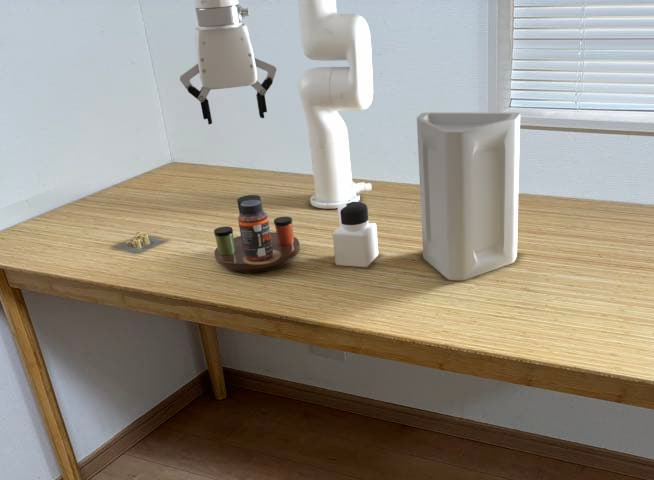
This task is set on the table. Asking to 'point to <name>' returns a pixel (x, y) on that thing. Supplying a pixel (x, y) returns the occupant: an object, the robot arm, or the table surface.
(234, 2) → the robot arm
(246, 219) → the supplement bottle
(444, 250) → the white triangular tub
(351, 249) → the medicine bottle
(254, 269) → the rack base
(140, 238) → the dice set
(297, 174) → the table surface
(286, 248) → the spice rack
